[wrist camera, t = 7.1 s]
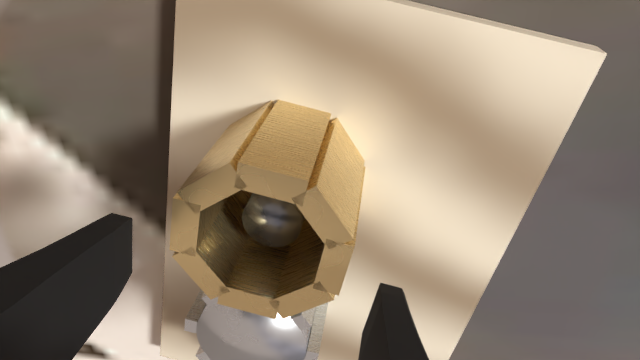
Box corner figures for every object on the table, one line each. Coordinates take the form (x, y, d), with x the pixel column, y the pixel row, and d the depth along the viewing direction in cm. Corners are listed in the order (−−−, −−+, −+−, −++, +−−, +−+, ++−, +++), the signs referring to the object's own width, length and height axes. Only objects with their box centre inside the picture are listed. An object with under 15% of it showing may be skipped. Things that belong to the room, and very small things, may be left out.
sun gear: (315, 346, 23) (304, 400, 21) (205, 318, 24) (181, 368, 21) (340, 260, 21) (331, 311, 18) (215, 228, 21) (188, 274, 18)
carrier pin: (315, 187, 20) (295, 253, 16) (269, 175, 20) (238, 238, 16) (325, 145, 19) (306, 205, 15) (277, 133, 19) (245, 190, 15)
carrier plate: (415, 406, 26) (415, 423, 25) (167, 341, 26) (160, 355, 26) (595, 45, 16) (607, 53, 15) (190, -53, 16) (178, -51, 15)
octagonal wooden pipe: (342, 242, 20) (326, 333, 16) (216, 208, 20) (166, 289, 16) (378, 125, 17) (370, 197, 13) (231, 87, 17) (176, 145, 13)
